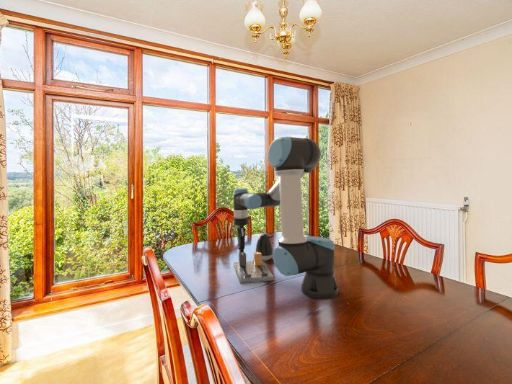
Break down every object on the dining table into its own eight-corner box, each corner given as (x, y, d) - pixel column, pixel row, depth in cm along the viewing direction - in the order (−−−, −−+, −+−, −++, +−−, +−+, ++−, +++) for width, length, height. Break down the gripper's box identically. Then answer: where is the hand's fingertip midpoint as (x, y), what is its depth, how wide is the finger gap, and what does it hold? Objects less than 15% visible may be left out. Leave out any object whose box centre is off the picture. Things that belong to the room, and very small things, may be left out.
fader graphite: (246, 265, 148) (246, 253, 147) (239, 266, 147) (239, 254, 146) (245, 263, 151) (245, 252, 150) (238, 264, 150) (238, 252, 149)
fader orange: (261, 265, 148) (261, 253, 147) (255, 265, 147) (254, 253, 147) (260, 263, 151) (260, 251, 151) (253, 263, 150) (253, 252, 150)
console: (274, 280, 133) (273, 274, 133) (239, 283, 130) (239, 276, 130) (262, 263, 156) (262, 258, 156) (233, 266, 153) (233, 260, 153)
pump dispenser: (273, 262, 159) (273, 235, 158) (255, 262, 160) (255, 235, 158) (273, 256, 169) (272, 231, 168) (255, 256, 170) (255, 231, 169)
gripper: (249, 219, 145) (250, 263, 147) (246, 215, 158) (246, 256, 160) (235, 219, 144) (236, 264, 146) (232, 215, 156) (233, 257, 158)
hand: (241, 260), depth 153 cm, fingers closed
